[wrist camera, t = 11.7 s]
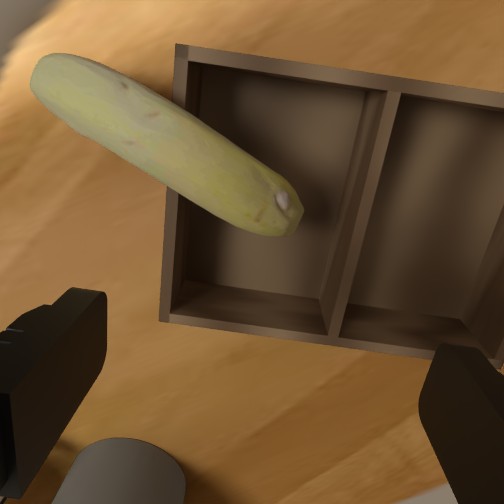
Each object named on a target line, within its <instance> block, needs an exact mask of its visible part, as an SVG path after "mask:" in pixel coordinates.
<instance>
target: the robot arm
mask: <svg viewBox="0 0 504 504" xmlns="http://www.w3.org/2000/svg"><path fill="white" fill-rule="evenodd" d="M106 352H107V296H106V293H105V292H102V291H95V290H88V289H81V288H75V287H72V288H70V289H68V290H67V291H66V292H65V293H64V294H63V295H62V296H61V297H60V298H59V299H58V300H57V301H55V302H54V303H53V304H52V305H45V304H44V305H42V306H39V307H37V308H35V309H33V310H31V311H28V312H26V313H24V314H22V315H21V316H20V317H18V318H17V319H16V320H15V321H14V322H13V323H11V324H10V325H9V326H8V327H7V328H6V331H2V332H1V333H0V496H1V497H8V498H15V499H21V497H22V496H23V494H24V493H25V491H26V489H27V488H28V486H29V485H30V483H31V482H32V480H33V478H34V477H35V475H36V474H37V472H38V470H39V469H40V467H41V466H42V464H43V463H44V461H45V459H46V458H47V456H48V455H49V453H50V451H51V450H52V448H53V447H54V445H55V444H56V442H57V440H58V439H59V437H60V436H61V434H62V432H63V431H64V429H65V428H66V426H67V425H68V423H69V421H70V420H71V418H72V417H73V415H74V413H75V412H76V410H77V409H78V407H79V406H80V404H81V402H82V401H83V399H84V398H85V396H86V394H87V393H88V391H89V390H90V388H91V387H92V385H93V383H94V382H95V380H96V379H97V377H98V375H99V374H100V372H101V370H102V367H103V365H104V361H105V357H106ZM418 407H419V416H420V420H421V423H422V425H423V427H424V430H425V432H426V434H427V436H428V438H429V441H430V443H431V445H432V447H433V449H434V451H435V454H436V456H437V458H438V460H439V462H440V465H441V467H442V469H443V471H444V473H445V476H446V478H447V480H448V482H449V484H450V487H451V488H452V491H453V493H454V495H455V497H456V499H457V502H458V504H504V375H502V374H501V373H500V372H498V371H497V370H496V369H495V368H494V366H493V365H492V364H491V363H490V361H489V360H488V359H487V358H486V357H485V355H484V354H483V353H482V352H481V351H480V350H479V349H478V348H475V347H469V346H462V345H456V344H449V343H442V344H440V345H439V346H438V348H437V350H436V352H435V355H434V357H433V360H432V363H431V366H430V368H429V371H428V374H427V377H426V379H425V382H424V385H423V388H422V390H421V393H420V397H419V406H418Z"/></svg>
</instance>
